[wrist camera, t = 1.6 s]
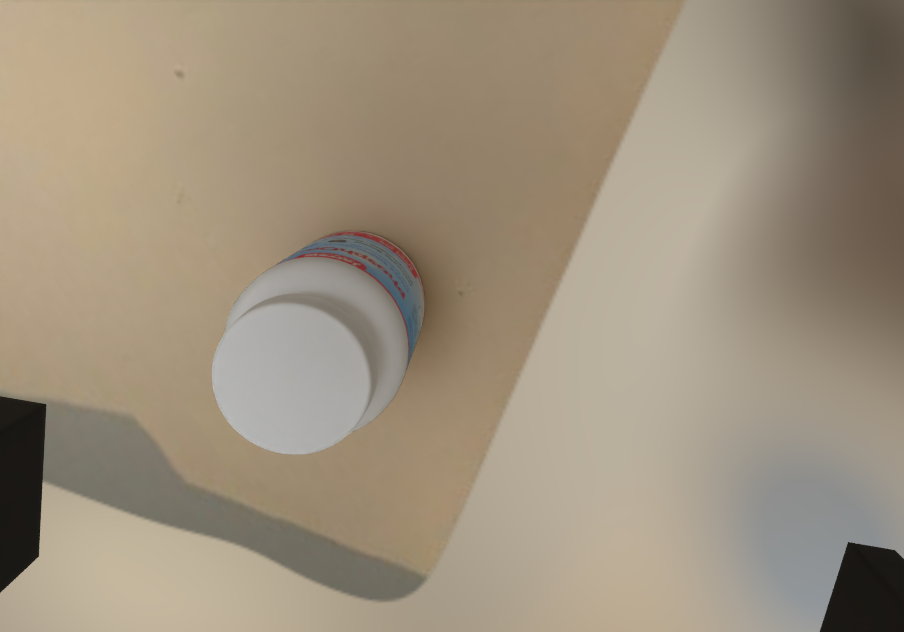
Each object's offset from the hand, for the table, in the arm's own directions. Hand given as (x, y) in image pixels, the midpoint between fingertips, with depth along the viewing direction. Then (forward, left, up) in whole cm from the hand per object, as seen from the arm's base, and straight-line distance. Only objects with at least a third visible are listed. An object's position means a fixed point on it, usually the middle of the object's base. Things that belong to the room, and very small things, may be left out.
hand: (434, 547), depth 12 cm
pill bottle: (+5, 0, -21) cm, 21 cm away
